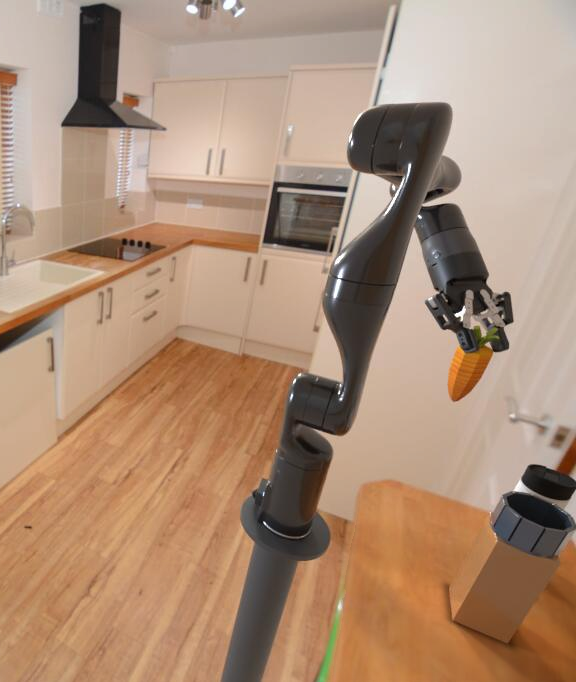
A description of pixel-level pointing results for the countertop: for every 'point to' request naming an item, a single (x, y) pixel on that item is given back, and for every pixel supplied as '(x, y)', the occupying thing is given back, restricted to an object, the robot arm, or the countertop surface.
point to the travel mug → (547, 484)
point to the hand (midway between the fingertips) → (486, 351)
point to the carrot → (469, 366)
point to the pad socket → (509, 564)
